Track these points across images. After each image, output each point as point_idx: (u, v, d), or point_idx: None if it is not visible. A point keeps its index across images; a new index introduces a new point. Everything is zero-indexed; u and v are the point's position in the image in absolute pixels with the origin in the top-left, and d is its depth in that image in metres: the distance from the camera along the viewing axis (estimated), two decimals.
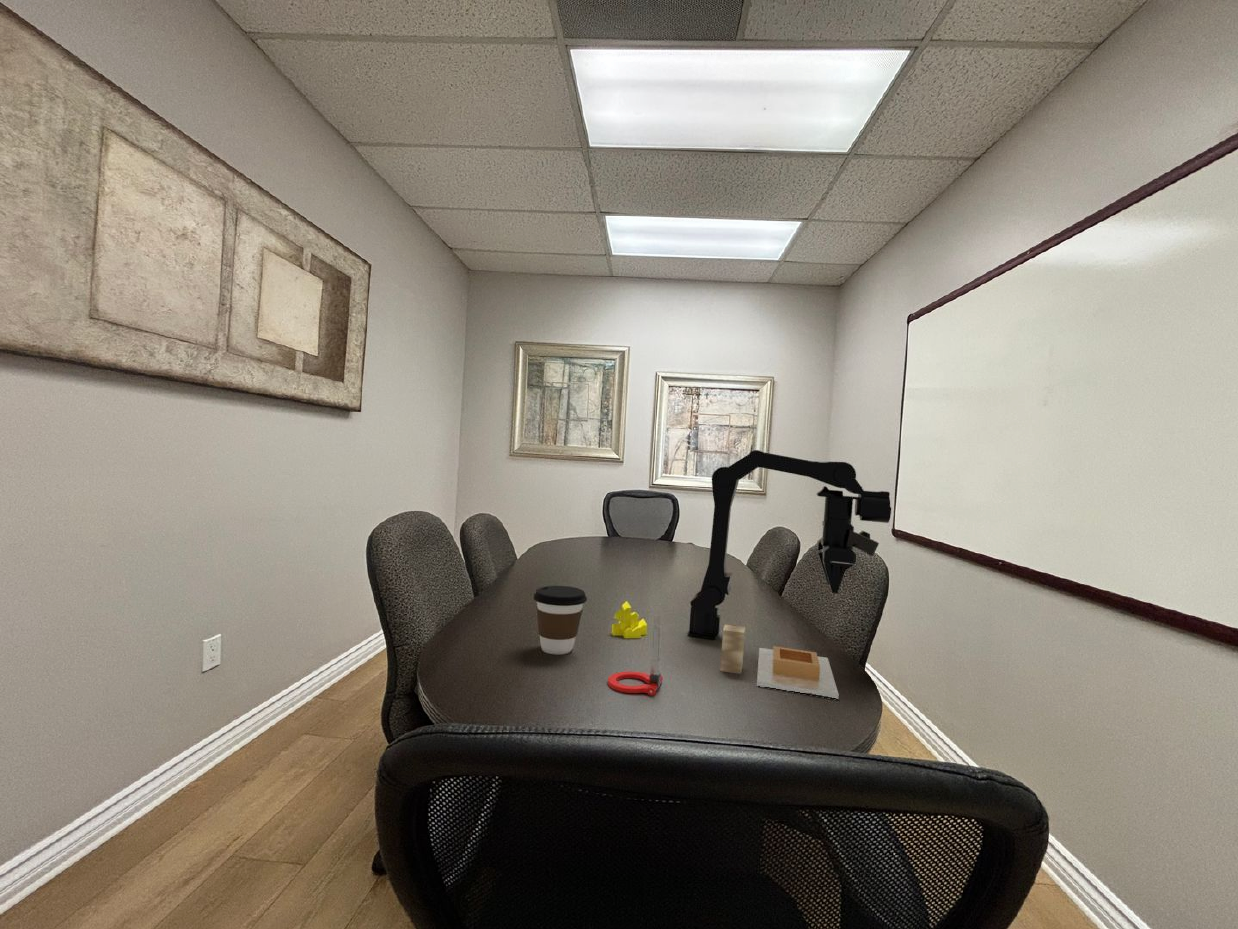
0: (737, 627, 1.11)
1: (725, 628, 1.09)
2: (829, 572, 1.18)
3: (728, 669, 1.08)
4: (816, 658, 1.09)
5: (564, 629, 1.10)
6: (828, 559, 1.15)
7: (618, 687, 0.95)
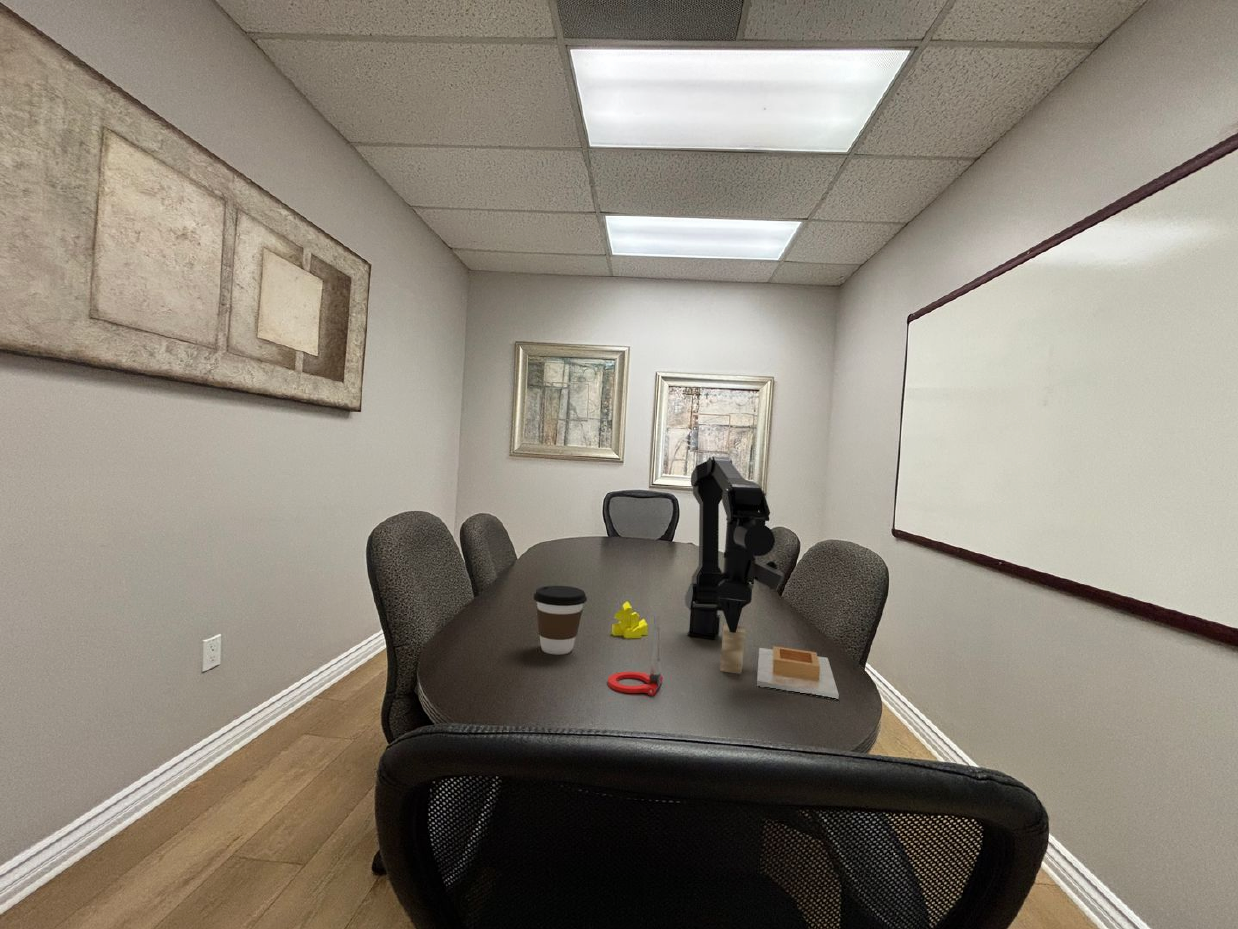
0: (737, 627, 1.11)
1: (725, 628, 1.10)
2: (725, 609, 1.04)
3: (728, 669, 1.08)
4: (816, 658, 1.09)
5: (564, 629, 1.10)
6: (721, 596, 1.01)
7: (618, 687, 0.95)
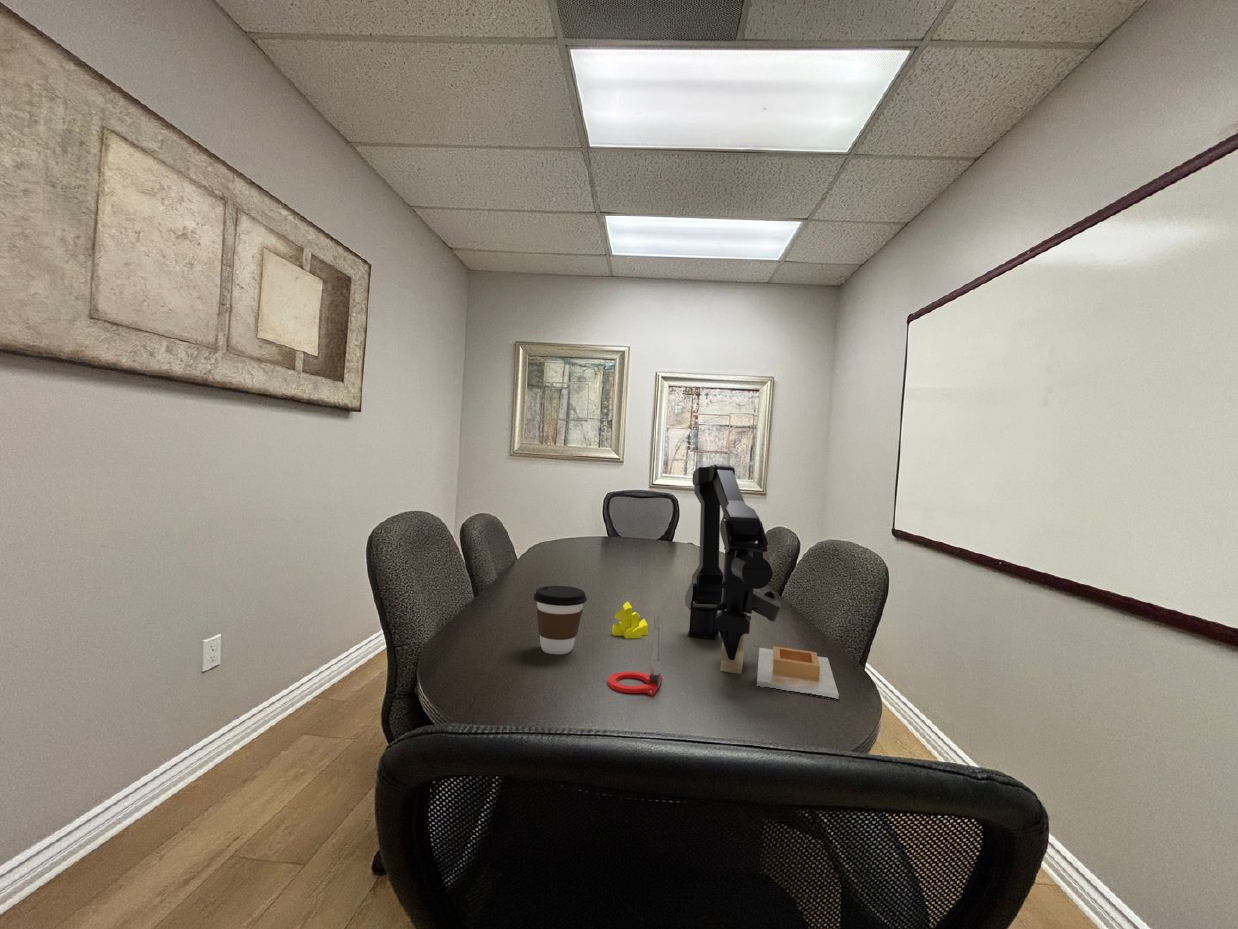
0: None
1: None
2: (724, 637, 1.07)
3: (728, 669, 1.08)
4: (816, 658, 1.09)
5: (564, 629, 1.10)
6: (719, 628, 1.01)
7: (618, 687, 0.95)
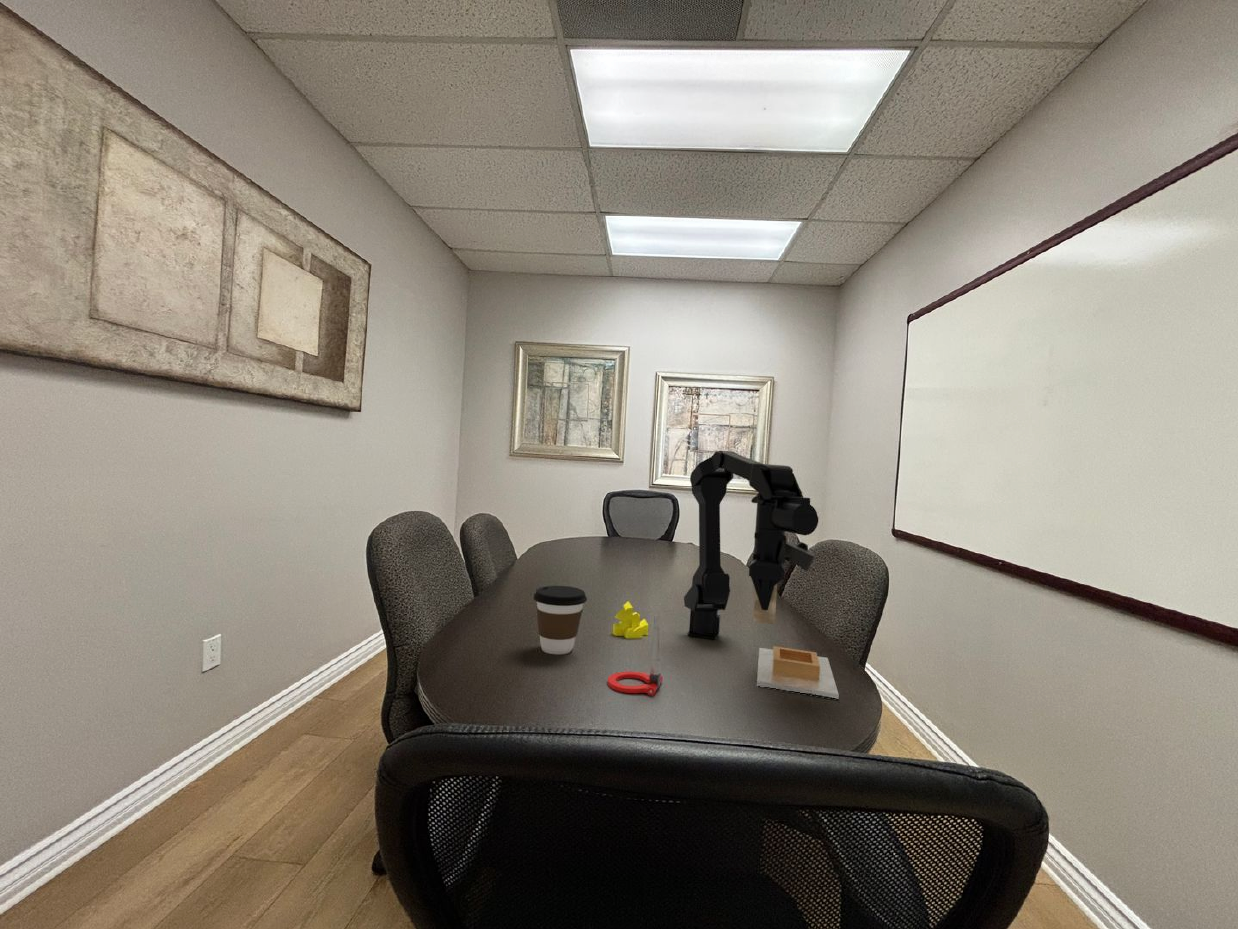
0: None
1: None
2: (757, 587, 1.06)
3: (761, 619, 1.08)
4: (816, 658, 1.09)
5: (564, 629, 1.10)
6: (753, 575, 1.01)
7: (618, 687, 0.95)
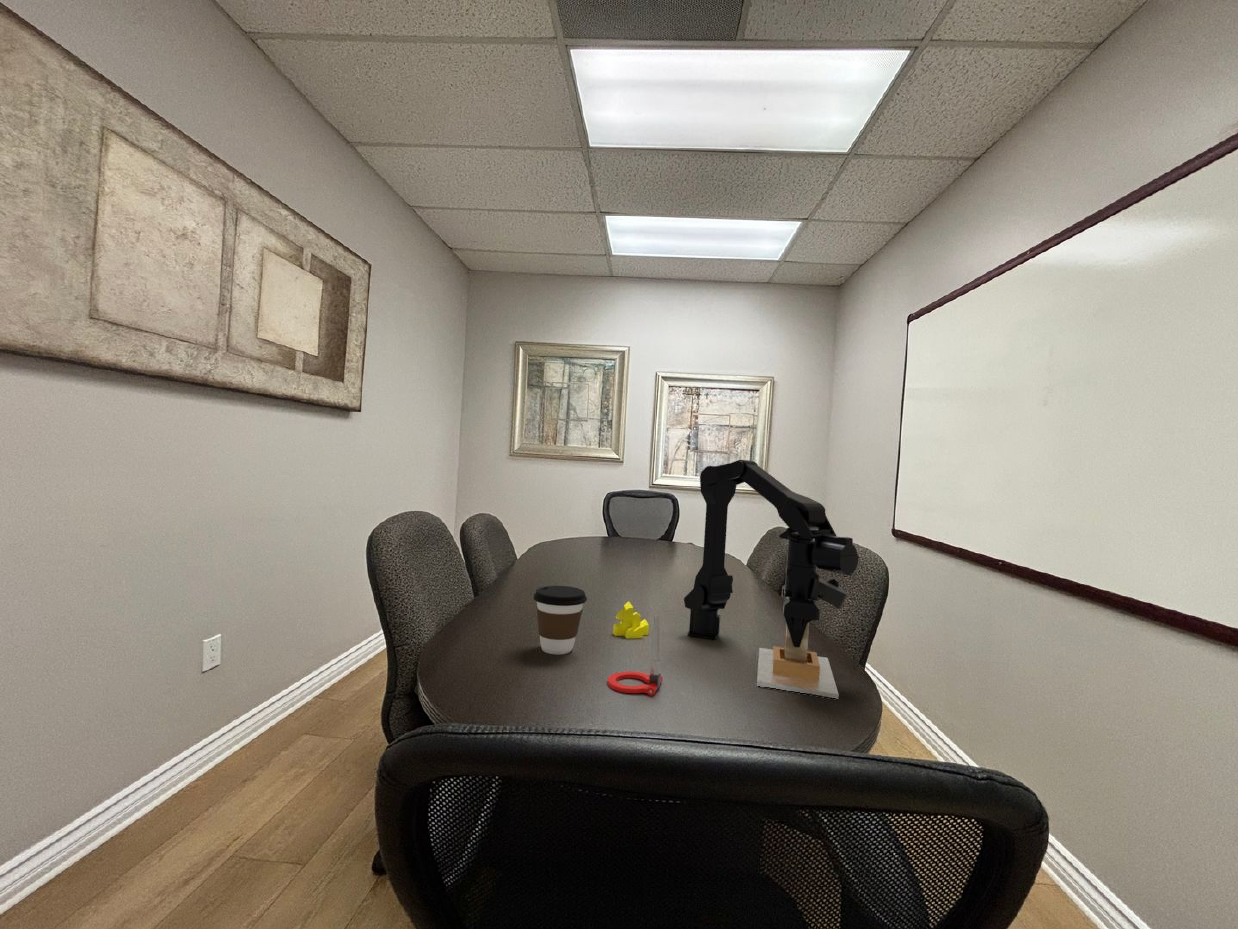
0: None
1: None
2: (790, 625, 1.06)
3: (793, 656, 1.08)
4: (816, 658, 1.09)
5: (564, 629, 1.10)
6: (788, 615, 1.01)
7: (618, 687, 0.95)
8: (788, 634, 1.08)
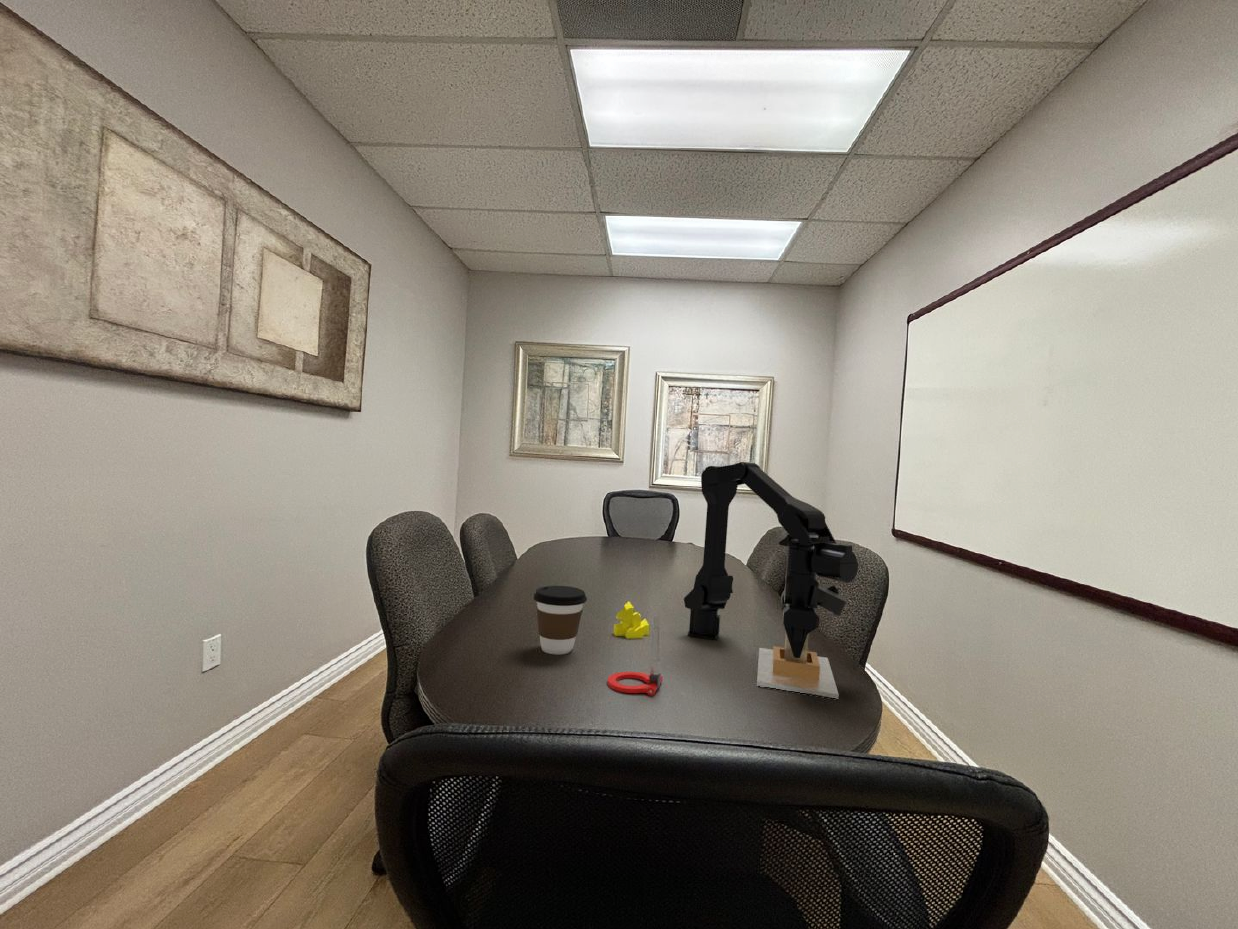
0: None
1: None
2: (790, 635, 1.04)
3: None
4: (816, 658, 1.09)
5: (564, 629, 1.10)
6: (788, 622, 1.01)
7: (618, 687, 0.95)
8: (787, 646, 1.08)
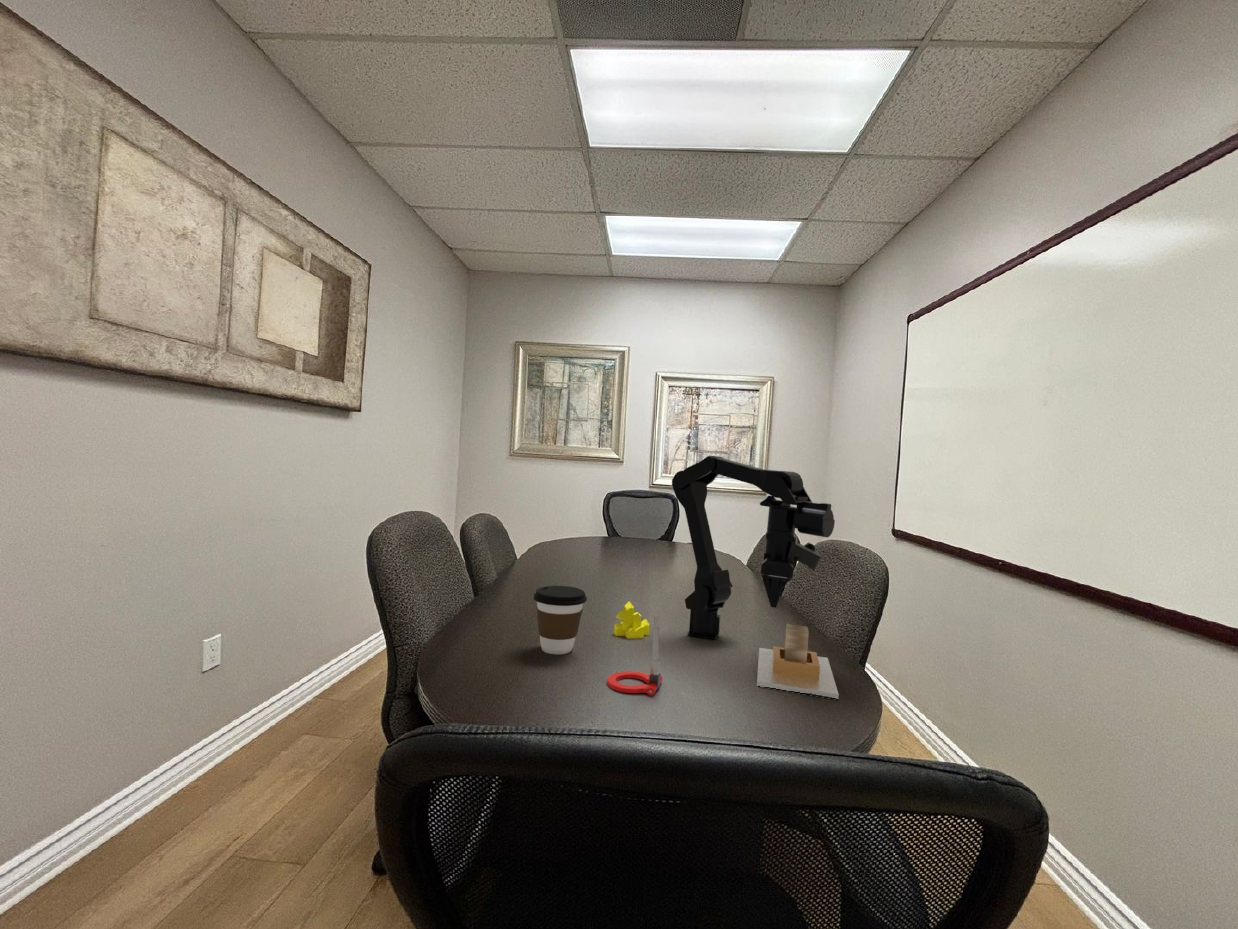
0: (800, 626, 1.11)
1: (788, 627, 1.09)
2: (767, 586, 1.14)
3: None
4: (816, 658, 1.09)
5: (564, 629, 1.10)
6: (764, 573, 1.11)
7: (618, 687, 0.95)
8: (787, 646, 1.08)
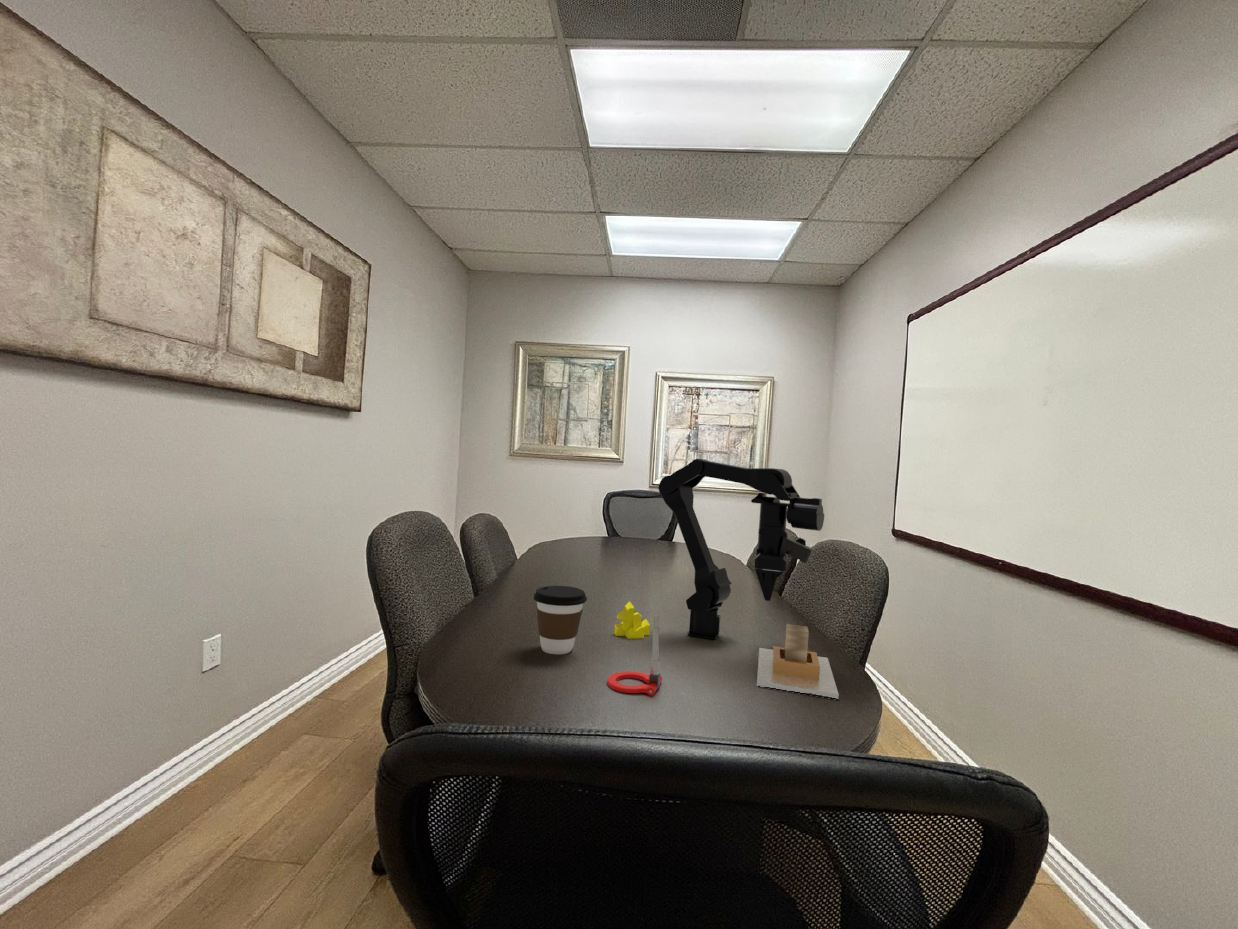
0: (800, 626, 1.11)
1: (788, 627, 1.09)
2: (761, 580, 1.17)
3: None
4: (816, 658, 1.09)
5: (564, 629, 1.10)
6: (758, 567, 1.14)
7: (618, 687, 0.95)
8: (787, 646, 1.08)
